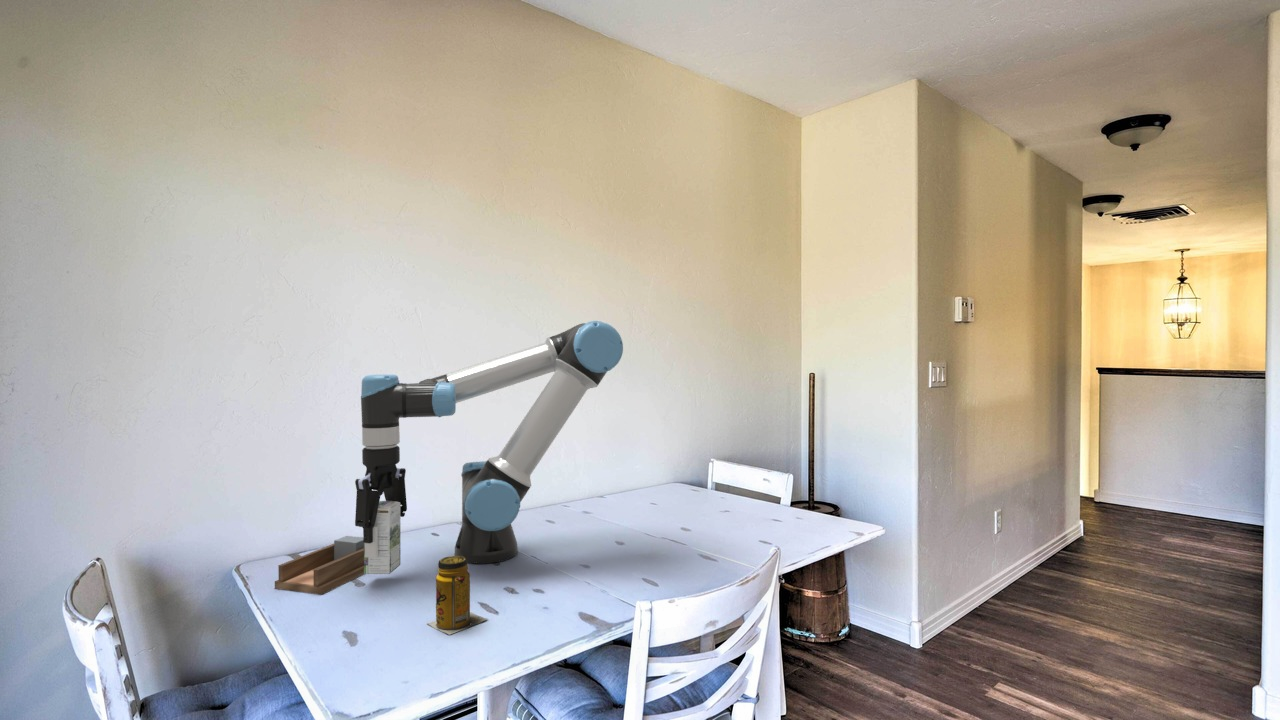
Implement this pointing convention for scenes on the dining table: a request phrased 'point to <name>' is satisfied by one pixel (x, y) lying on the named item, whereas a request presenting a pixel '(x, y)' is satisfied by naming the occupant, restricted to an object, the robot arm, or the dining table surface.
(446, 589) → the condiment
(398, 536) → the syrup box
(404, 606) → the dining table surface
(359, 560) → the walnut tray
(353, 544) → the slate block
